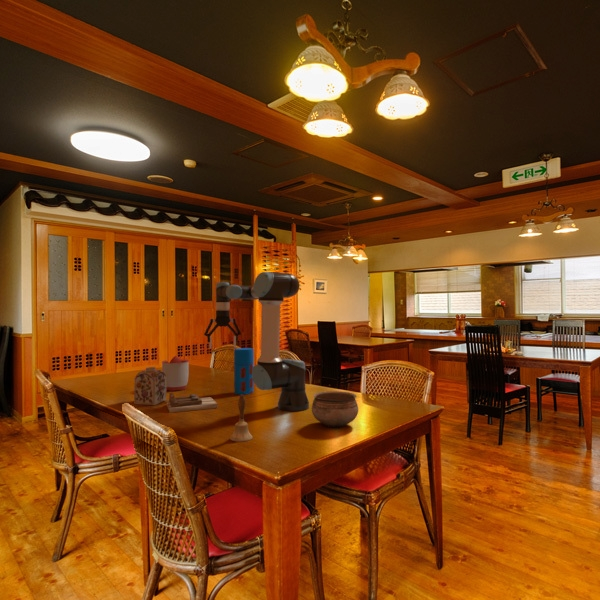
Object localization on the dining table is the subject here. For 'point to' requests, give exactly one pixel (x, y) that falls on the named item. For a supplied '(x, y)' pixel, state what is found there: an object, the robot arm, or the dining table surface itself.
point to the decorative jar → (150, 387)
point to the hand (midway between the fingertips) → (222, 348)
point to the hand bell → (241, 425)
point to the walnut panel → (182, 400)
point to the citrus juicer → (176, 373)
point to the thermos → (243, 371)
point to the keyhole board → (206, 404)
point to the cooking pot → (335, 408)
